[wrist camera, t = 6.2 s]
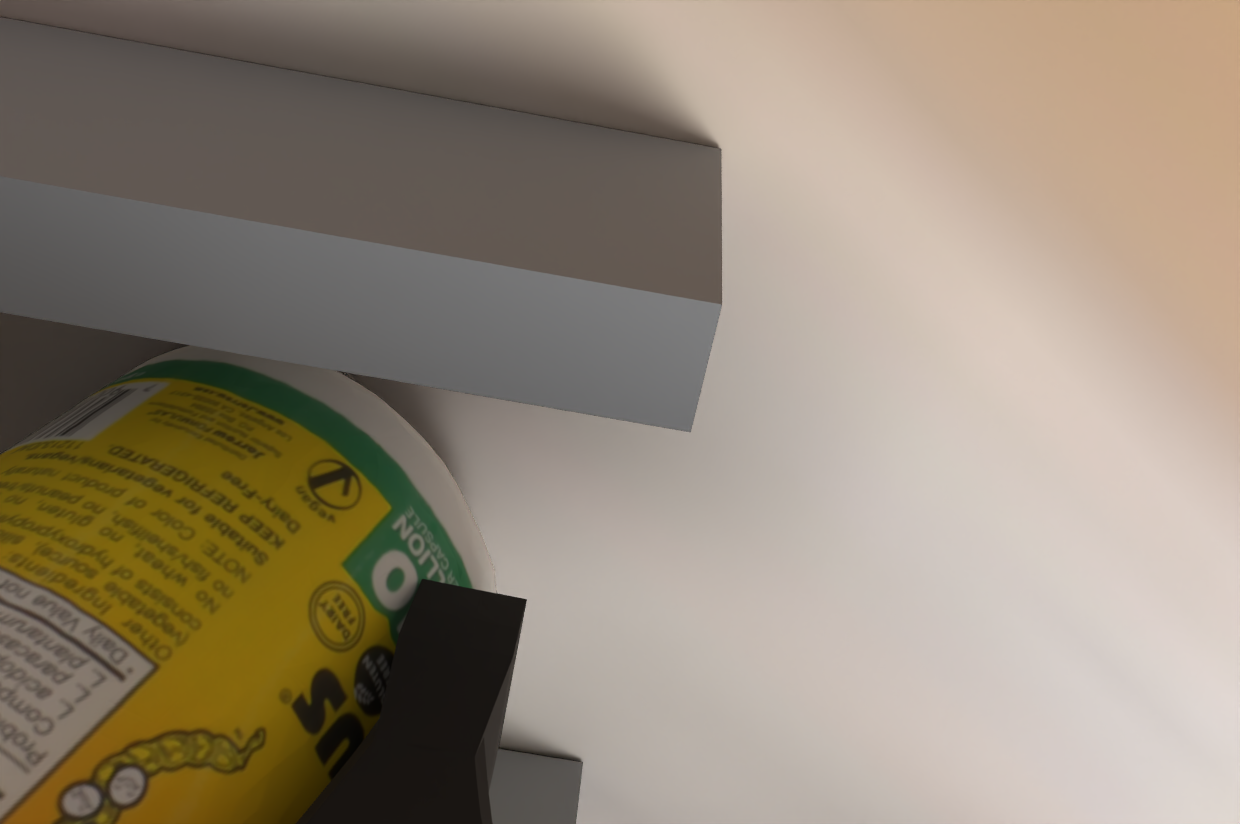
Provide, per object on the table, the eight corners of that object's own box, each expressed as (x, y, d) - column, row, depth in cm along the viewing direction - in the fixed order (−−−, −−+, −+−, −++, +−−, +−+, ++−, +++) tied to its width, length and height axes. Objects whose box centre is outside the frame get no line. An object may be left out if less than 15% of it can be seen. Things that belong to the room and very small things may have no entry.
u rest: (-123, 703, 17) (-266, 893, 14) (-344, -46, 11) (-648, 60, 9) (571, 815, 17) (546, 1018, 15) (721, 148, 11) (721, 303, 9)
